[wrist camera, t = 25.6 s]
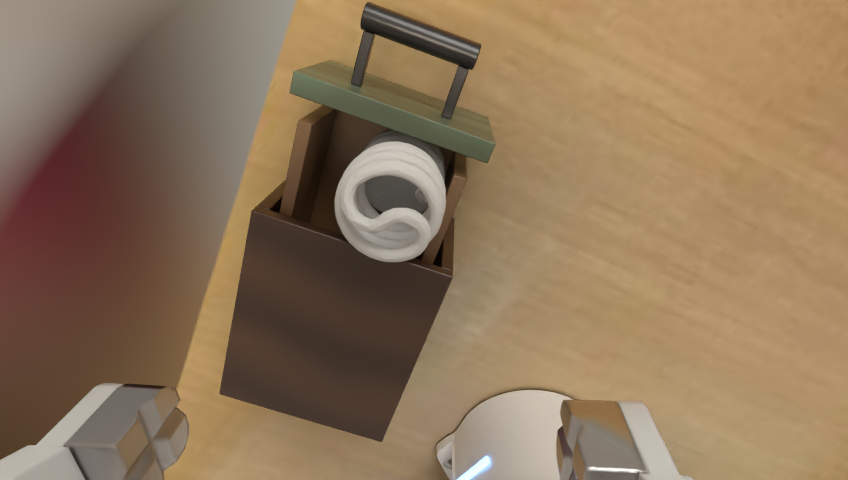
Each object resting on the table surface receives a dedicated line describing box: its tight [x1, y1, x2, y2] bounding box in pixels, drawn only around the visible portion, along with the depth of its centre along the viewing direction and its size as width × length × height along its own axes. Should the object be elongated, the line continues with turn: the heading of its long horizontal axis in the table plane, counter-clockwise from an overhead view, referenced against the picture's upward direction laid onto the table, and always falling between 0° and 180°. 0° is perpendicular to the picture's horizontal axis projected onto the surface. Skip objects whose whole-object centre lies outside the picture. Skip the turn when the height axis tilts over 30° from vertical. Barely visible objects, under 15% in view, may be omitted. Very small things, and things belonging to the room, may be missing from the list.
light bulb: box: [334, 129, 446, 262], centre depth 26 cm, size 6×6×12 cm
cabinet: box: [220, 180, 454, 442], centre depth 34 cm, size 16×13×9 cm
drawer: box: [279, 2, 495, 264], centre depth 30 cm, size 19×11×7 cm, turn 161°
